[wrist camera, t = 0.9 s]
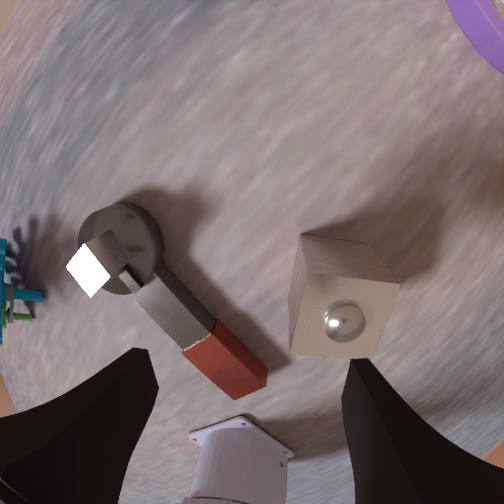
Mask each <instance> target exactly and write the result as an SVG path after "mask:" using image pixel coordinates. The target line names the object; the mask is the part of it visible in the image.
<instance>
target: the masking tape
mask: <svg viewBox="0 0 504 504" xmlns="http://www.w3.org/2000/svg"><path fill="white" fill-rule="evenodd" d="M501 1H502V2H503V3H504V0H501ZM446 3H447V5H448V7H449V9H450V11H451V13H452V15H453V17H454V19H455V21H456V22H457V24H458V25H459V27H460V28H461V30H462V31H463V33H464V34H465V36H466V37H467V38H468V40H469V41H470V42H471V44H472V45H473V46H474V47H475V48H476V50H477V51H478V52H479V53H480V54H481V55H482V56H483V57H484V58H485V59H486V60H487V61H488V62H489V63H490V64H491V65H492V66H493V67H494V68H495V69H497V70H498V71H499V72H501V73H502V74H504V21H503V19H502V18H501V16H500V15H499V14H498V12H497V10H496V9H495V7H494V6H493V4H492V2H491V1H490V0H446Z"/></svg>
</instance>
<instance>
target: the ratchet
mask: <svg viewBox="0 0 504 504" xmlns="http://www.w3.org/2000/svg"><path fill="white" fill-rule="evenodd" d="M78 249H79V251H78V252H77V253H76V255H75V256H74V257H73V259H72V260H71V261H70V263H69V264H68V265H67V268H68V270H69V271H70V272H71V274H72V275H73V276H74V277H75V279H76V280H77V281H78V282H79V284H80V285H81V286H82V287H83V289H84V290H85V291H86V292H87V294H88V295H89V296H90V297H91V296H93V295H94V294H95V293H96V292H97V291H98V290H99V289H101V288H103V289H105V290H107V291H109V292H111V293H114V294H120V295H126V294H131V295H132V297H133V298H134V299H135V300H136V301H137V302H138V303H139V304H140V305H141V307H142V308H143V309H144V310H145V311H146V312H147V313H148V314H149V315H150V316H151V317H152V318H153V319H154V321H155V322H156V323H157V324H158V325H159V326H160V327H161V328H162V329H163V330H164V331H165V332H166V333H167V334H168V335H169V336H170V337H171V338H172V339H173V340H174V341H175V342H176V343H177V344H178V345H179V346H180V347H181V348H182V349H183V351H182V354H183V355H184V356H185V357H186V358H187V359H188V360H189V361H190V362H191V363H192V364H193V365H195V366H196V367H197V368H198V369H199V370H200V371H201V372H202V373H203V374H204V375H206V376H207V377H208V378H209V379H210V380H211V381H212V382H213V383H215V384H216V385H217V386H218V387H219V388H220V389H221V390H223V391H224V392H225V393H226V394H227V395H228V396H230V397H231V398H232V399H233V400H236V399H239V398H241V397H243V396H246V395H248V394H250V393H252V392H255V391H257V390H259V389H261V388H263V387H266V382H267V370H268V369H267V368H266V367H265V366H264V365H263V364H262V363H261V362H260V361H259V360H258V359H257V358H256V357H255V356H254V355H253V354H252V353H251V352H250V351H249V350H248V349H247V348H246V347H245V346H244V345H243V344H242V343H241V342H240V341H239V340H238V339H237V338H236V337H235V336H234V335H233V334H232V333H231V332H230V331H229V330H228V329H227V328H226V327H225V326H224V325H223V324H222V322H221V321H220V320H219V319H218V320H216V319H215V318H214V317H213V316H212V315H211V314H210V313H209V312H208V311H207V310H206V309H205V308H204V307H203V306H202V304H201V303H200V302H199V301H198V300H197V299H196V298H195V297H194V296H193V295H192V293H191V292H190V291H189V290H188V289H187V288H186V287H185V286H184V285H183V283H182V282H181V281H180V280H179V279H178V278H177V277H176V275H175V274H174V273H173V272H172V271H171V270H170V269H169V267H168V266H167V265H166V264H165V263H164V262H163V257H164V240H163V236H162V232H161V230H160V228H159V226H158V224H157V222H156V221H155V219H154V218H153V217H152V216H151V215H150V214H149V213H148V212H147V211H146V210H144V209H143V208H141V207H140V206H138V205H135V204H132V203H125V202H122V203H116V204H113V205H111V206H108V207H106V208H103V209H101V210H98V211H96V212H94V213H92V214H91V215H90V216H88V218H87V219H86V220H85V221H84V223H83V225H82V227H81V229H80V232H79V237H78Z"/></svg>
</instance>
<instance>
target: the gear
mask: <svg viewBox="0 0 504 504" xmlns="http://www.w3.org/2000/svg"><path fill="white" fill-rule="evenodd" d="M6 245H7V240H6V239H1V238H0V345H2V328H6V320H8V323H13V319H16V320H25V321H32V315H31V314H22V313H14V312H13V309H14V299H21V300H29V301H37V302H42V292H41V291H33V290H26V289H19V288H15V285H13V284H7V283H4V281H3V279H4V268H5V266H4V265H5V257H6ZM3 300H4V301H3ZM6 301H10V308H8V310H6ZM2 310H3V319H2Z"/></svg>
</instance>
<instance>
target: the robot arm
mask: <svg viewBox="0 0 504 504" xmlns="http://www.w3.org/2000/svg"><path fill="white" fill-rule="evenodd" d="M158 390H159V386H158V383H157V380H156V377H155V373H154V370H153V367H152V363H151V360H150V356H149V353H148V350H147V349H140V348H134V347H133V348H132V349H130V350H129V351H127V352H126V353H124V354H123V355H122V356H120V357H119V358H117V359H116V360H115V361H113V362H112V363H110V364H109V365H108V366H106V367H105V368H103V369H102V370H101V371H99V372H98V373H96V374H95V375H93V376H92V377H91V378H89V379H87V380H86V381H84V382H83V383H81V384H80V385H78V386H76V387H75V388H73V389H72V390H70V391H68V392H67V393H65V394H63V395H61V396H59V397H57V398H55V399H53V400H51V401H49V402H47V403H45V404H42V405H40V406H37V407H34V408H32V409H29V410H27V411H24V412H20V413H17V414H14V415H10V416H6V417H1V418H0V504H118V500H119V496H120V492H121V488H122V484H123V480H124V476H125V473H126V470H127V466H128V463H129V460H130V458H131V455H132V453H133V451H134V449H135V446H136V444H137V442H138V440H139V438H140V436H141V434H142V431H143V429H144V427H145V425H146V423H147V421H148V419H149V416H150V414H151V412H152V410H153V406H154V403H155V400H156V397H157V393H158ZM341 400H342V413H343V423H344V428H345V433H346V438H347V443H348V447H349V452H350V457H351V463H352V468H353V474H354V482H355V504H504V469H503V468H500V467H497V466H495V465H492V464H490V463H487V462H485V461H483V460H481V459H479V458H477V457H475V456H473V455H472V454H470V453H468V452H466V451H465V450H463V449H461V448H460V447H458V446H457V445H455V444H454V443H452V442H451V441H449V440H448V439H446V438H445V437H444V436H442V435H441V434H440V433H439V432H437V431H436V430H435V429H434V428H432V427H431V426H430V425H429V424H428V423H426V422H425V421H424V420H423V419H422V418H421V417H420V416H419V415H418V414H417V413H416V412H415V411H414V410H413V409H412V408H411V407H410V406H409V405H408V404H407V403H406V402H405V401H404V400H403V399H402V398H401V397H400V395H399V394H398V393H397V392H396V391H395V390H394V389H393V388H392V386H391V385H390V384H389V383H388V382H387V380H386V379H385V378H384V377H383V376H382V374H381V373H380V372H379V371H378V370H377V368H376V367H375V366H374V365H373V364H372V362H371V361H370V360H369V359H368V358H359V359H351V361H350V366H349V370H348V374H347V378H346V382H345V386H344V390H343V394H342V397H341ZM187 437H188V438H189V439H191V440H192V441H194V442H195V443H197V444H198V445H200V446H201V447H202V448H201V451H200V455H199V459H198V463H197V466H196V470H195V474H194V477H193V481H192V485H191V489H190V492H189V496H188V497H184V500H183V504H285V502H286V497H287V470H288V458H292V457H294V452H293V451H291V450H290V449H288V448H287V447H285V446H284V445H282V444H281V443H279V442H278V441H276V440H275V439H274V438H272V437H271V436H269V435H268V434H266V433H265V432H264V431H262V430H261V429H260V428H258V427H257V426H256V425H254V424H253V423H252V422H250V421H249V420H248V419H246V418H245V417H243V416H238V417H235V418H232V419H230V420H227V421H224V422H221V423H218V424H215V425H212V426H209V427H206V428H203V429H200V430H197V431H193V432H190V433H188V435H187ZM175 504H179V503H175Z"/></svg>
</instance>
